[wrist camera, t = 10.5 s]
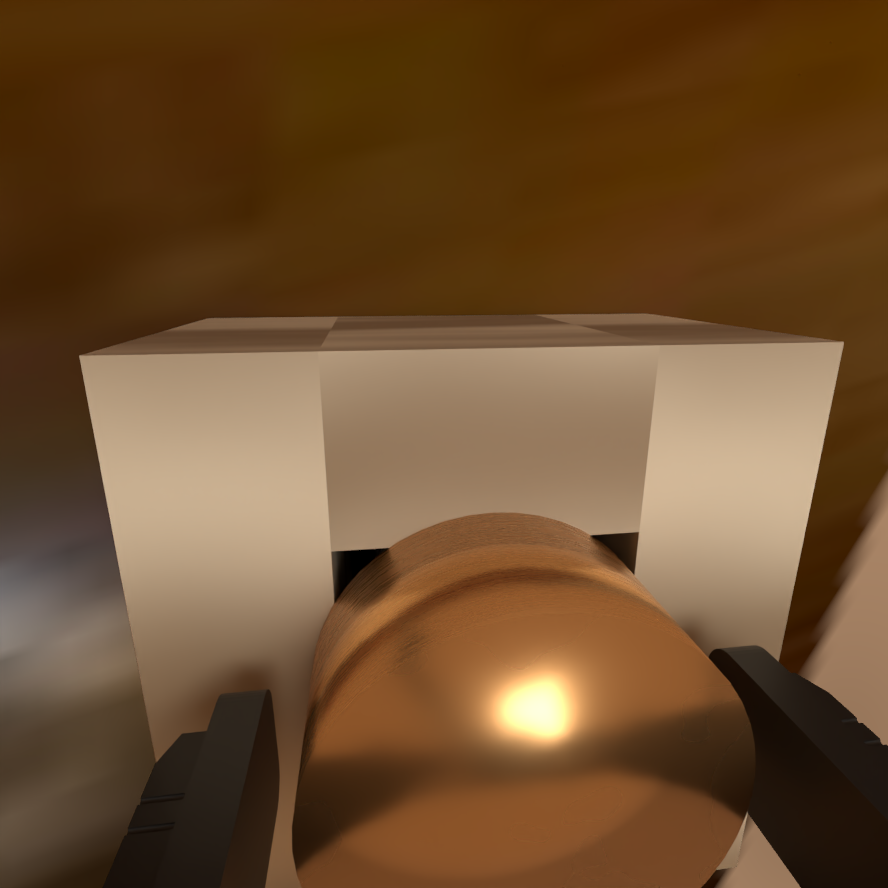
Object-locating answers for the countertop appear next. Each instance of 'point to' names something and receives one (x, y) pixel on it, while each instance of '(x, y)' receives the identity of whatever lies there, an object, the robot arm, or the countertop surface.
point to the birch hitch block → (437, 478)
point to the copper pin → (514, 723)
